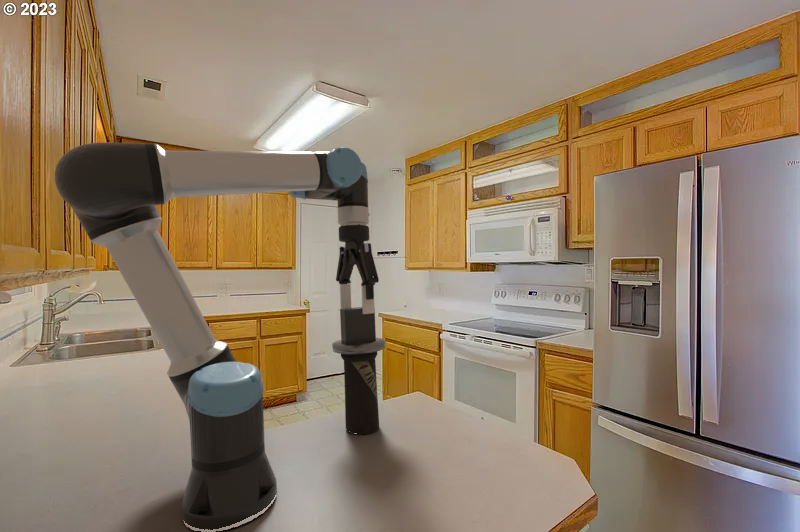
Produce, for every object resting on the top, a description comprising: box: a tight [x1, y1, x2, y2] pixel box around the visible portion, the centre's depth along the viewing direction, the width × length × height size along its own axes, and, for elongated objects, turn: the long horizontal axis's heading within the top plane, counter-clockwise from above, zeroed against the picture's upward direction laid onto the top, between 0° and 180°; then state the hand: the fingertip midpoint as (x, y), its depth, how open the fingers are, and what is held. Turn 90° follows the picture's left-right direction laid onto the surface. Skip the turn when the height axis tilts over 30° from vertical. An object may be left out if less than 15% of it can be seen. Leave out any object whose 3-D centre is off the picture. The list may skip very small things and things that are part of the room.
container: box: [340, 351, 380, 435], centre depth 97 cm, size 9×9×20 cm
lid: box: [331, 306, 386, 355], centre depth 97 cm, size 13×13×10 cm
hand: (356, 311), depth 96 cm, fingers open, 13 cm apart
